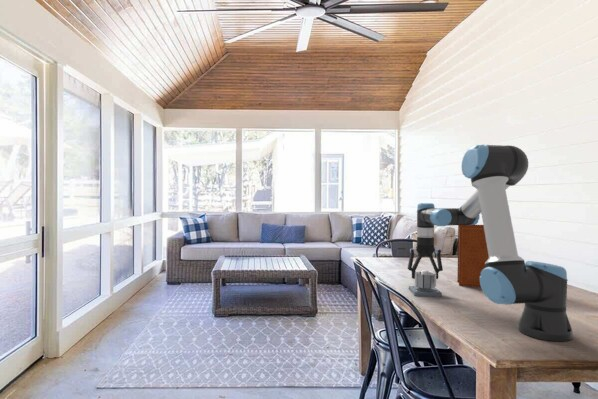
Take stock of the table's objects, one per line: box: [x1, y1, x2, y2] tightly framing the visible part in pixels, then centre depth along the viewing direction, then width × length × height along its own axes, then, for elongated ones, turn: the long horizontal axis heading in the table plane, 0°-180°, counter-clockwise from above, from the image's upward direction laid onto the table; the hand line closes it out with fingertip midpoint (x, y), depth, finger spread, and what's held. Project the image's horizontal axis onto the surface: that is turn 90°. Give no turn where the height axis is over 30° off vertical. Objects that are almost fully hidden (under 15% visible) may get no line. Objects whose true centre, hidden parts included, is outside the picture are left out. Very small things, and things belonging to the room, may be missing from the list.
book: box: [456, 224, 489, 288], centre depth 195 cm, size 23×8×30 cm, turn 73°
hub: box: [416, 271, 435, 289], centre depth 181 cm, size 8×8×6 cm
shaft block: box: [408, 269, 443, 297], centre depth 181 cm, size 12×12×10 cm
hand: (424, 285), depth 181 cm, fingers closed on hub, 8 cm apart
